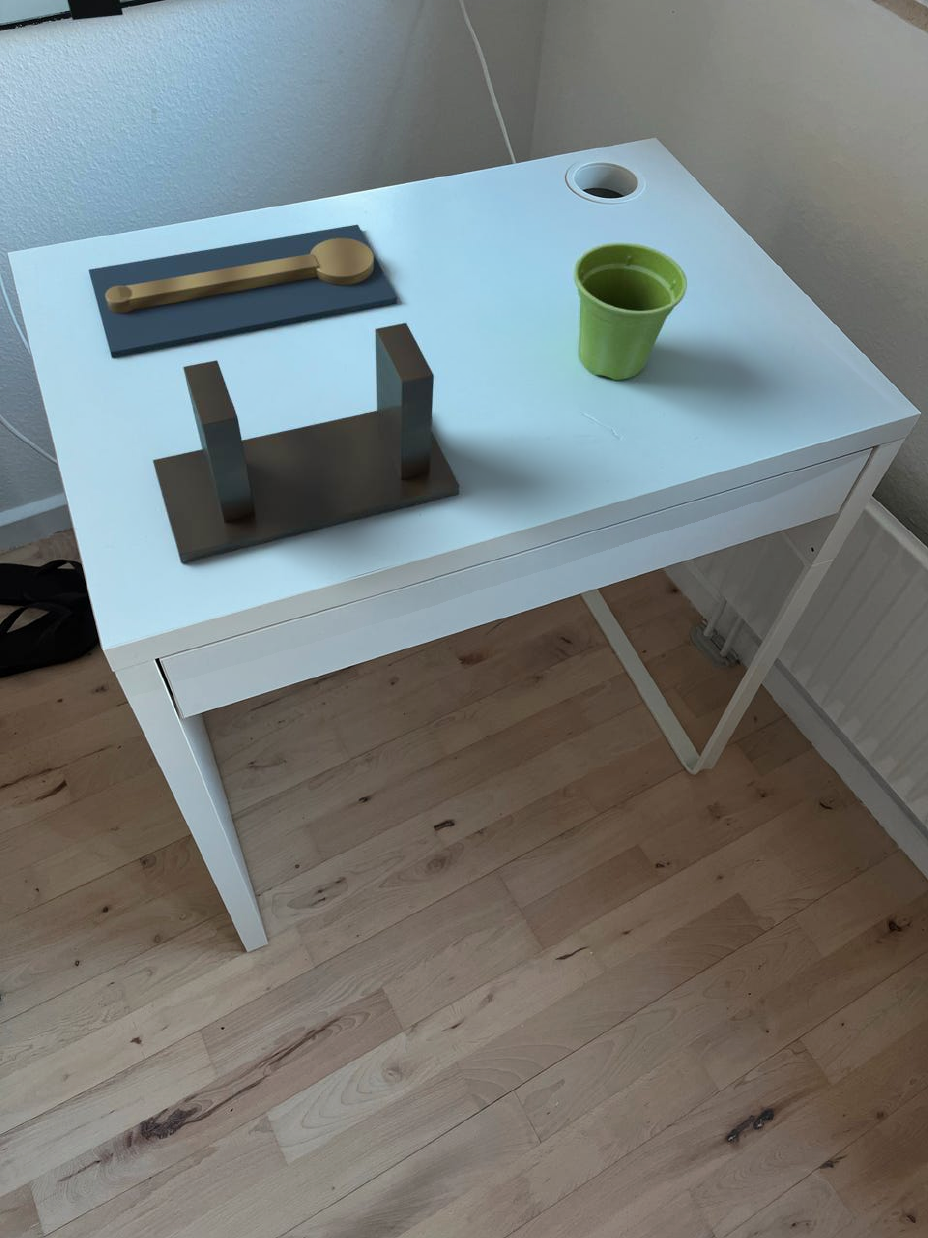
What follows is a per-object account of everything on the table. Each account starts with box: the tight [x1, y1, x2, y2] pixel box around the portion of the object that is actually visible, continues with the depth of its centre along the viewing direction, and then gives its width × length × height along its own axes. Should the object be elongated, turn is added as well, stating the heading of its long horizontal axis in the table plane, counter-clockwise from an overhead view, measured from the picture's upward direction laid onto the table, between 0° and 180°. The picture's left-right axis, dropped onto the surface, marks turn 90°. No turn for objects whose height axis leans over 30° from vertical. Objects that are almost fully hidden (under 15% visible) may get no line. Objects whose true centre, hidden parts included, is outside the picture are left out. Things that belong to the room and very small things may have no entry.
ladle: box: [105, 238, 375, 313], centre depth 86 cm, size 25×6×1 cm, turn 111°
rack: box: [152, 322, 461, 564], centre depth 70 cm, size 22×10×11 cm, turn 111°
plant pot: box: [573, 242, 688, 381], centre depth 81 cm, size 9×9×9 cm
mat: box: [88, 224, 398, 358], centre depth 87 cm, size 26×12×1 cm, turn 111°
